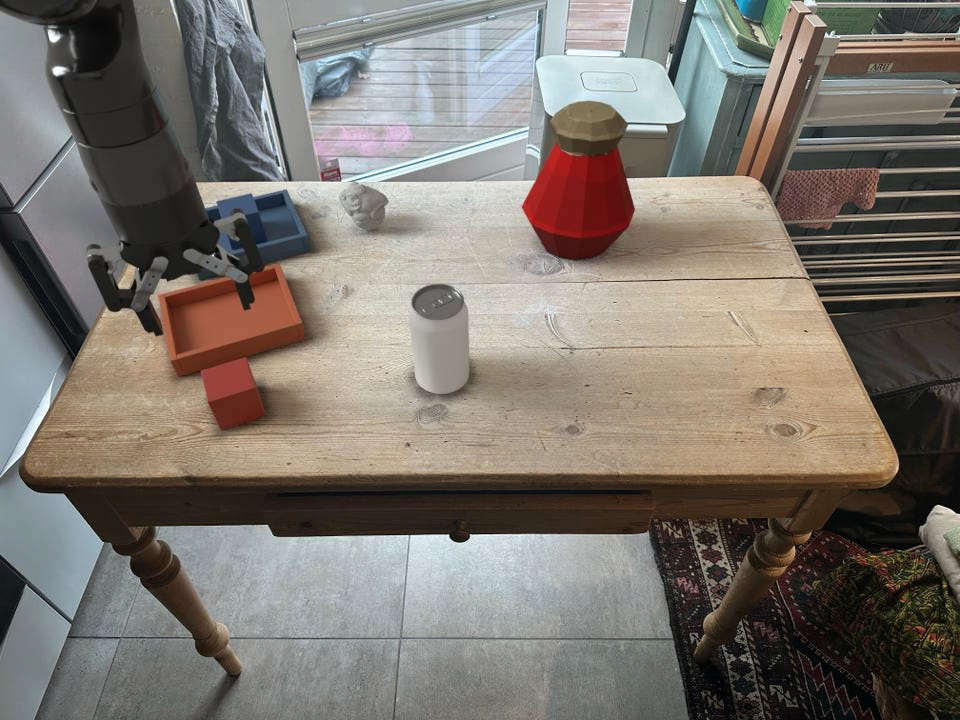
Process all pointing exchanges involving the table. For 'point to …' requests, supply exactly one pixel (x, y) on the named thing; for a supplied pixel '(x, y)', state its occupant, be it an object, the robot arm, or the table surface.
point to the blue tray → (270, 230)
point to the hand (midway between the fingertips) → (203, 317)
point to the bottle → (582, 184)
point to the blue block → (250, 213)
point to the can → (439, 338)
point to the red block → (232, 393)
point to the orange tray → (228, 321)
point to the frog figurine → (364, 205)
